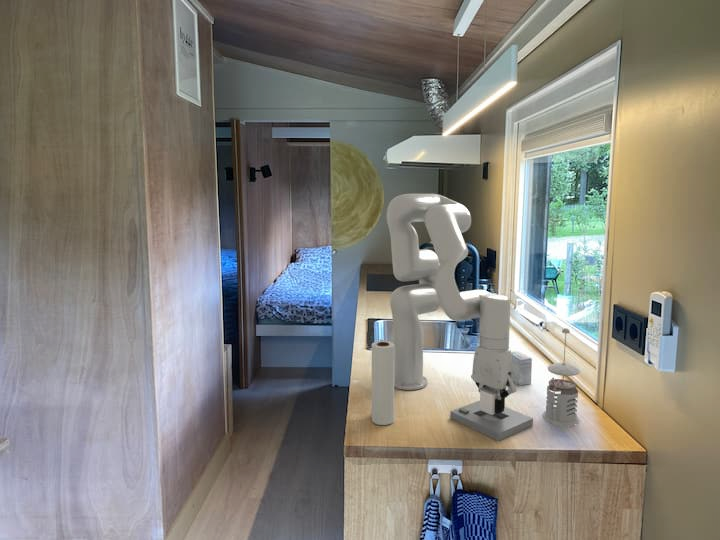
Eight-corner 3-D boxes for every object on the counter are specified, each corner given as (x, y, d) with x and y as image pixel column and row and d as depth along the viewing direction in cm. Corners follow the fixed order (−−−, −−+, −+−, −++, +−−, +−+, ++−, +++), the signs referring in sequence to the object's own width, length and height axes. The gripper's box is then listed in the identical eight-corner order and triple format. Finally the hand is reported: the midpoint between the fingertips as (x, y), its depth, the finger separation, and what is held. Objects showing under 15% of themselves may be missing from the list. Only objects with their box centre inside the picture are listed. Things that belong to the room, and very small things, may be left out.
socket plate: (450, 418, 136) (450, 409, 136) (484, 405, 145) (484, 396, 144) (498, 441, 124) (498, 431, 123) (532, 425, 132) (533, 416, 132)
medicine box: (531, 384, 160) (532, 358, 159) (519, 385, 159) (520, 359, 158) (517, 375, 168) (518, 350, 167) (505, 377, 167) (506, 351, 165)
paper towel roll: (388, 427, 131) (388, 348, 128) (367, 422, 134) (367, 345, 131) (399, 417, 137) (400, 341, 134) (379, 412, 140) (380, 338, 137)
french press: (586, 418, 136) (592, 328, 132) (567, 432, 128) (573, 337, 124) (551, 407, 143) (556, 321, 139) (531, 419, 135) (536, 329, 132)
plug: (479, 410, 133) (480, 388, 133) (491, 405, 136) (492, 383, 136) (491, 415, 130) (492, 392, 129) (504, 410, 133) (504, 388, 132)
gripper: (459, 337, 135) (458, 403, 138) (511, 352, 122) (509, 424, 125) (478, 333, 140) (476, 396, 142) (530, 347, 126) (527, 416, 129)
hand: (492, 408), depth 133 cm, fingers closed on plug, 4 cm apart
